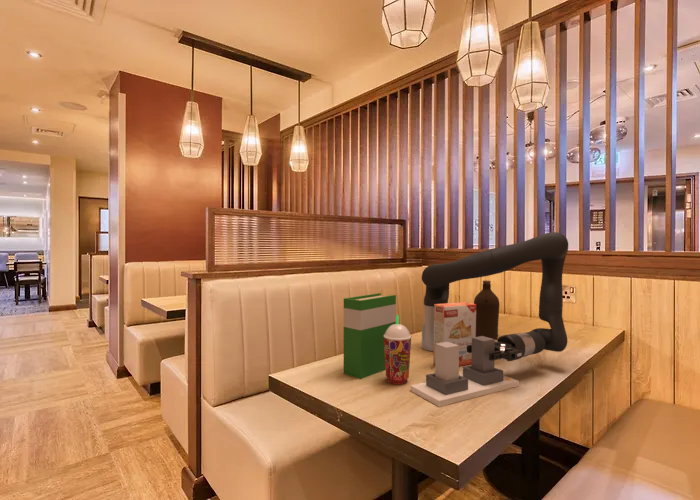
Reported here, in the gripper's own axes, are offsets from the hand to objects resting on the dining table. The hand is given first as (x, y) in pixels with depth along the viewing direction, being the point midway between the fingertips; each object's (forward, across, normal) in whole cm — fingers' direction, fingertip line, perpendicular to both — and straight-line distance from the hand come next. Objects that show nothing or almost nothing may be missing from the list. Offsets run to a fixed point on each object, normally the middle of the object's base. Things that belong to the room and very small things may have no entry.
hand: (478, 352), depth 112 cm
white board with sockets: (+5, 0, +10) cm, 11 cm away
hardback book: (+21, -27, +10) cm, 35 cm away
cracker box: (-8, -18, +10) cm, 22 cm away
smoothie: (+19, -14, +10) cm, 25 cm away
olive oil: (-46, -39, +10) cm, 61 cm away
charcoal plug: (-2, 0, +8) cm, 8 cm away
